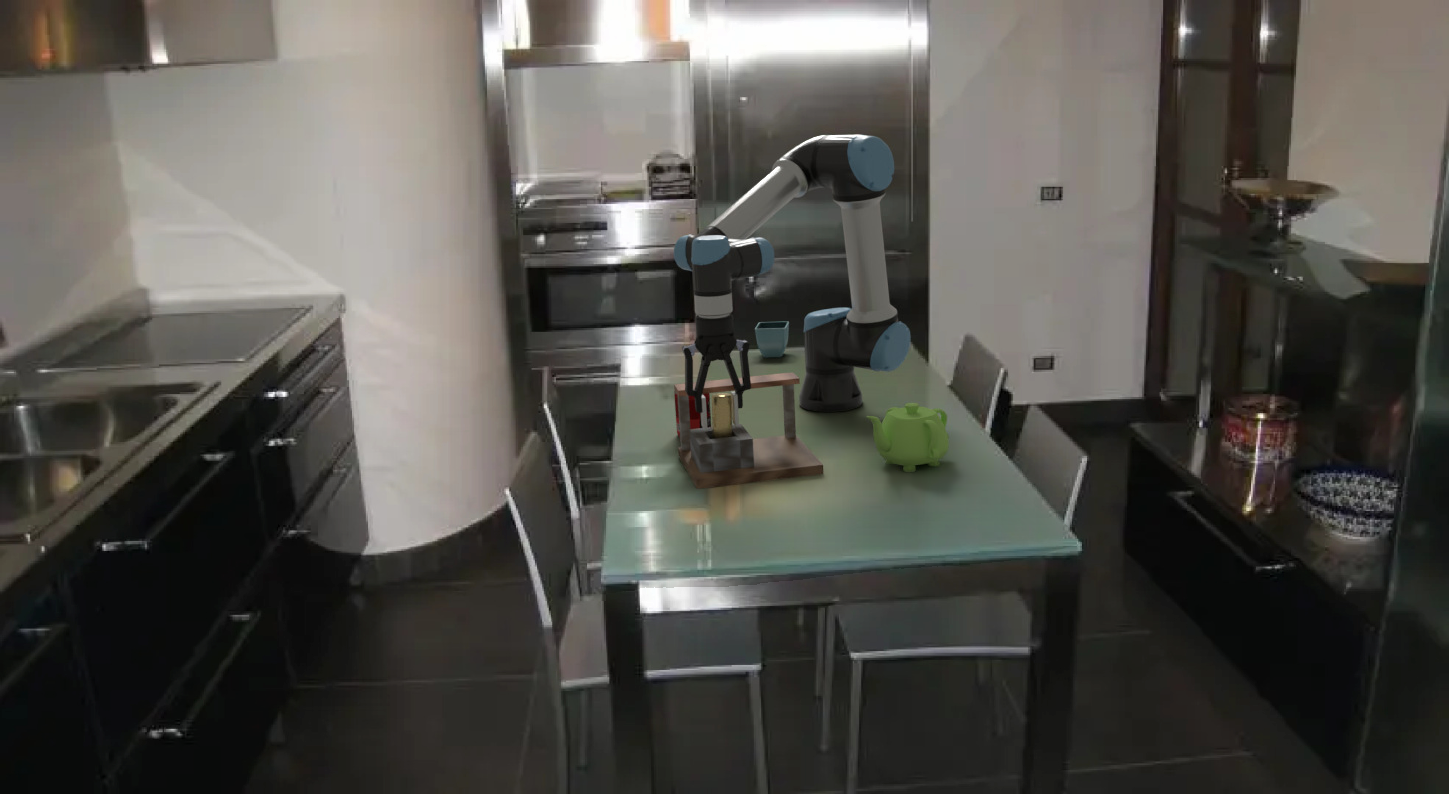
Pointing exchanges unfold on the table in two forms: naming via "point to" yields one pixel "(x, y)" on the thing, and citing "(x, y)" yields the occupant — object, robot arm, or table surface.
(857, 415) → the table surface
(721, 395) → the peg
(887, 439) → the teapot
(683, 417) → the station
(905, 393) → the table surface
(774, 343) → the flower pot
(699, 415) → the canned food
